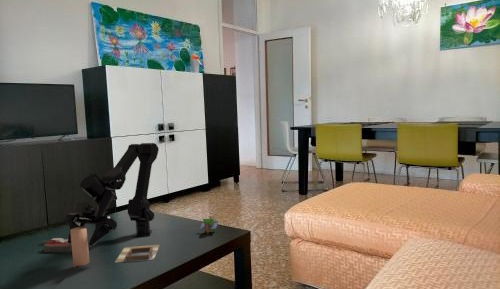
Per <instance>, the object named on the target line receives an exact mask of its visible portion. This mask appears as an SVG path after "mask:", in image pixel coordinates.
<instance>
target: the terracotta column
mask: <svg viewBox="0 0 500 289" xmlns="http://www.w3.org/2000/svg"><path fill="white" fill-rule="evenodd" d="M69 231H70V233H71V244H72V251H71V253H72V262H73V269H75V268H76V267H81V266H85V265H88V264H89V263H90V252H89V241H88V240H89V239H88V230H87V226H83V227H77V228H73V229H71V230H70V229H69Z"/></svg>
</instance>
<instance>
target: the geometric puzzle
mask: <svg viewBox="0 0 500 289" xmlns="http://www.w3.org/2000/svg"><path fill="white" fill-rule="evenodd" d="M218 225H219V222H218V220H217V219H216V218H215V217H212V216H210V215H209V218H202V222H201V225H200V228H199V229H200V230H204V231H205V232H204V233H206V234H210V233H213V232H214V233H216V230H217V227H218Z"/></svg>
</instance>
